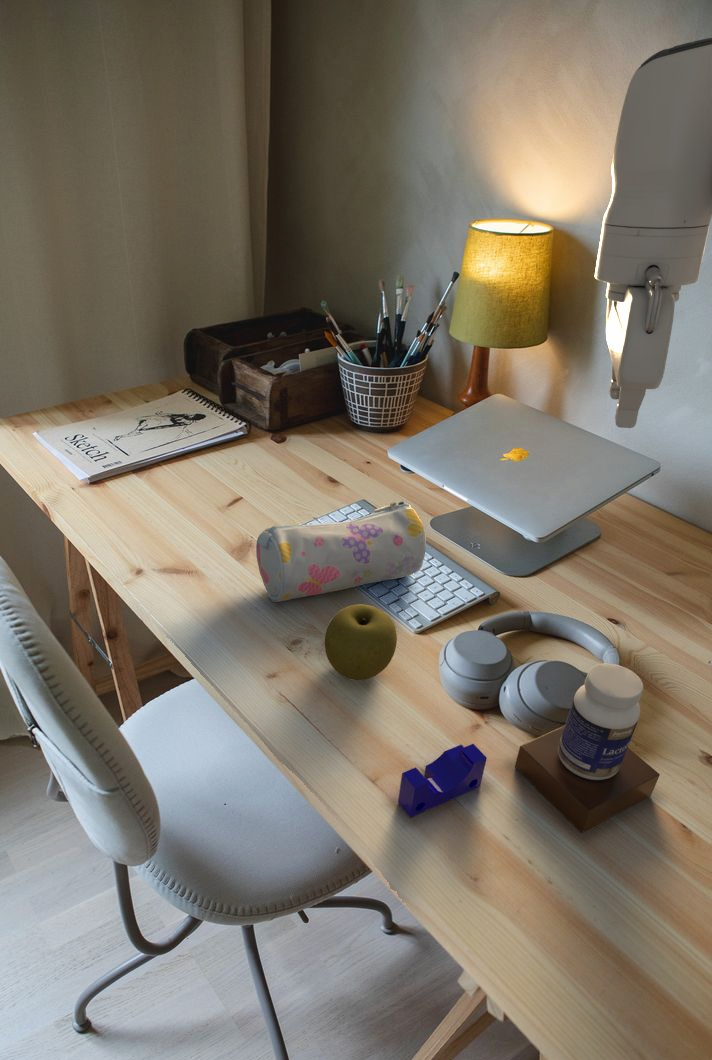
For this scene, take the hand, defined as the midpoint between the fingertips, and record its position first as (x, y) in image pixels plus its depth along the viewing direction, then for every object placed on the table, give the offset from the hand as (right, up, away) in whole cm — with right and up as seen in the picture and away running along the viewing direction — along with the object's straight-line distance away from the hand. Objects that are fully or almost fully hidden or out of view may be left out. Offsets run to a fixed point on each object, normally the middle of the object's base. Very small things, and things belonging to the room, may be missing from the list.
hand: (621, 411), depth 81 cm
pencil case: (-27, -16, +23) cm, 39 cm away
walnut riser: (-5, -36, -2) cm, 36 cm away
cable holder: (-19, -37, -3) cm, 41 cm away
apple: (-25, -26, +10) cm, 38 cm away
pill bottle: (-5, -34, -4) cm, 34 cm away
